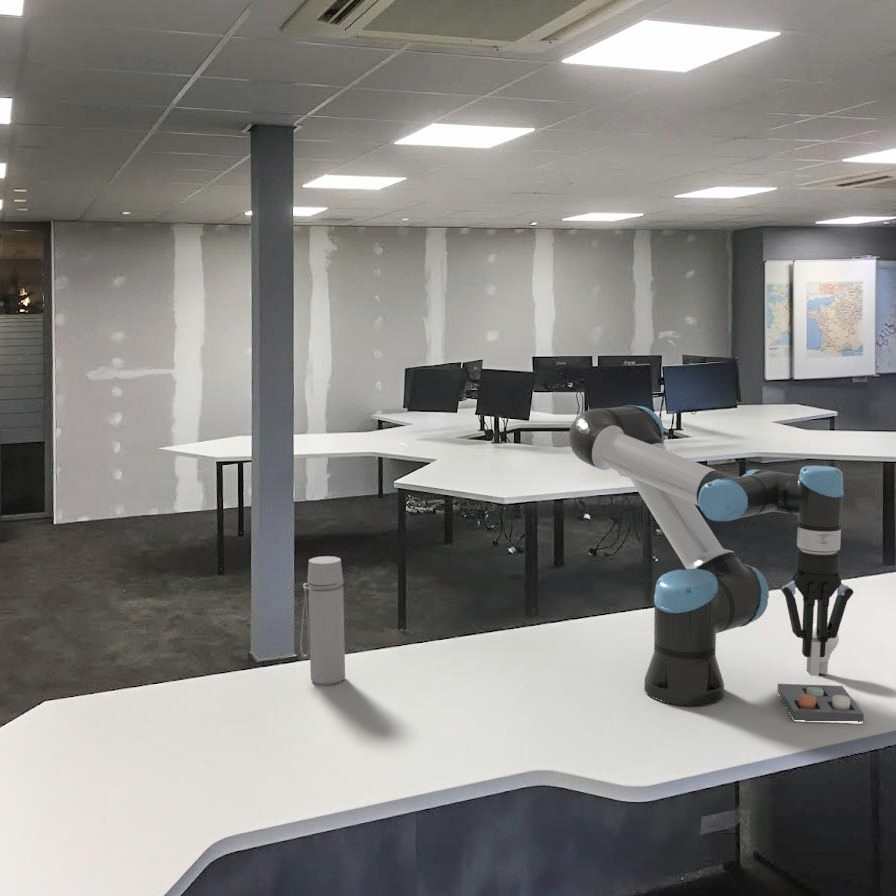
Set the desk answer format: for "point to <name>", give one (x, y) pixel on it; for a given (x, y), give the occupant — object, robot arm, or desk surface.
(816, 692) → the sage button
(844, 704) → the cream button
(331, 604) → the water bottle
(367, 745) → the desk surface
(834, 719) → the panel
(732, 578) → the robot arm
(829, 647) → the lightbulb
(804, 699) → the rust button
